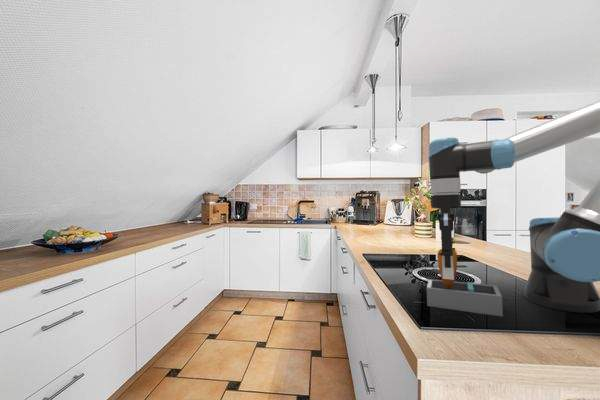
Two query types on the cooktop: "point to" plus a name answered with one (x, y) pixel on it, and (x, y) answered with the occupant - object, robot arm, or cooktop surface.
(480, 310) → the grey open box
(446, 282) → the carrot
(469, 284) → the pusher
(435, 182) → the robot arm
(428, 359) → the cooktop surface
